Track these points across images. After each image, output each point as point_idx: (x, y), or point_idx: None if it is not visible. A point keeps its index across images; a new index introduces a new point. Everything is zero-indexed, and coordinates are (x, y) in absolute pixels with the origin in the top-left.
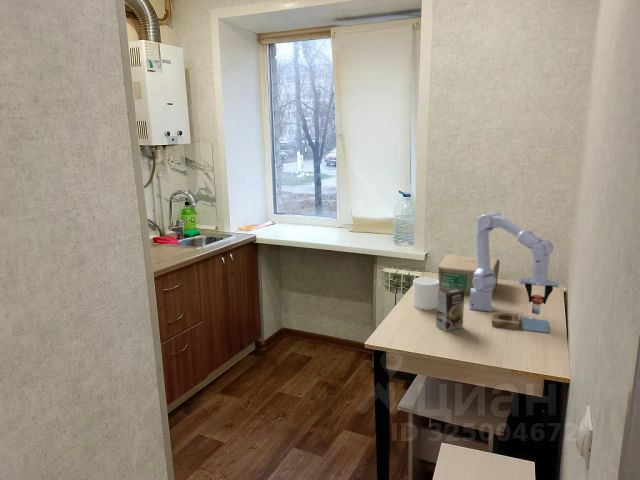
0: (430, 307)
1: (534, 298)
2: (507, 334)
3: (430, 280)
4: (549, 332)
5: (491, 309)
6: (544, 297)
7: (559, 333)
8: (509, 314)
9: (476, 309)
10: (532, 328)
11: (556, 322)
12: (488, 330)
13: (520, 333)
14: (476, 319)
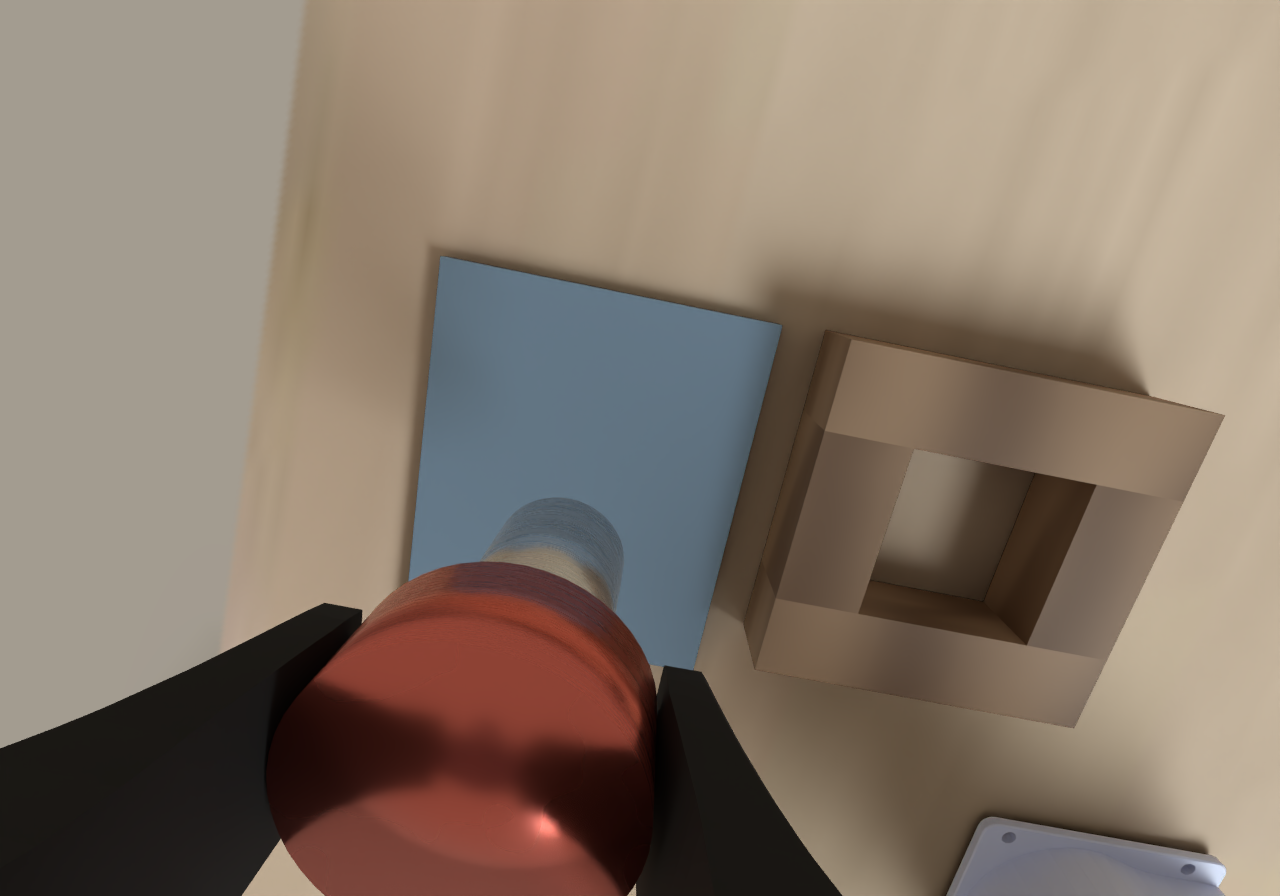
0: None
1: (593, 687)
2: (1037, 136)
3: None
4: (444, 257)
5: (976, 852)
6: (255, 775)
7: (320, 272)
8: (875, 658)
9: (1147, 846)
10: (642, 352)
11: (305, 603)
12: (1258, 248)
13: (838, 200)
14: (1260, 589)
